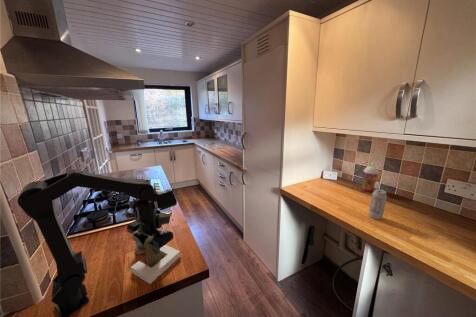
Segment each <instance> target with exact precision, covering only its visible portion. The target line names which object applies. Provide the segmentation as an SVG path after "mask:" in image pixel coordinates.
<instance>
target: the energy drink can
mask: <svg viewBox="0 0 476 317" xmlns="http://www.w3.org/2000/svg"><path fill="white" fill-rule="evenodd" d="M387 198H388V195H387V191H386V190H383V189H380V188H379V189H378V188H376V189H375V188H374V190H373V191H372V195H371V200H370V205H369V210H368V216H369V218H371V219H373V220H375V221H376V220H377V221H379V220H381V219H383V218H384V212H385V207H386V205H387V204H386V203H387Z"/></svg>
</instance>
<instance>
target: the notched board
mask: <svg viewBox="0 0 476 317" xmlns="http://www.w3.org/2000/svg"><path fill="white" fill-rule="evenodd" d="M160 252H161V255H162V258H163V259H162V260H160V261H159V262H158V263H157V264H156V265H154V266H153V267H152V268H151V267H149V266H147V265H146V264H145V263H144V262H142V261H140V260H138V261H137V262H136V263H134V264H133V265H131V266H130V270H131V271H130V272H131V273H132V274H133V275H135V276H137V277H139V279H141V280H143V281H144V282H146V283H147V284H149V285H151V284H152V283H153V282H154V281H156V279H157V277H158V276H159V277H160V276H161V275H162V274H163V273H165V271H166V270H168V268H169V267H171V266H172V265H173V264H174V263H175V262H176V261H177V260H179V259H180V258H181V250H178V249H175V248H174V247H171V246H169V245H168V244H166V245H164V246H163V247H161V248H160ZM159 277H158V278H159Z"/></svg>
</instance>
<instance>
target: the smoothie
mask: <svg viewBox="0 0 476 317" xmlns="http://www.w3.org/2000/svg"><path fill="white" fill-rule="evenodd" d="M373 164H374V162H373V161H372V162H371V165H369V166H365V168H364V169H363V171H362V172H363V173H362V181H361V188H362V190H363V191H365V192H367V193H368V192H373V191H374V190H375V185H376V181H377V178H378V175H379V171H378V169H377V168H376V167H375V166H373Z"/></svg>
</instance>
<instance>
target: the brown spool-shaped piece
mask: <svg viewBox="0 0 476 317" xmlns="http://www.w3.org/2000/svg"><path fill="white" fill-rule="evenodd" d="M134 233H135V232H134ZM134 233H132V234H131V239H132V241H134V242H135V246H134V253H135V254H136V255H140V256H142V255H145V254H146V248H145V247H144V246H143V245H142V244H141V243H140V242H139V241H138V240H137V239H136V238H135V237H134V236H133V234H134Z"/></svg>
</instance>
